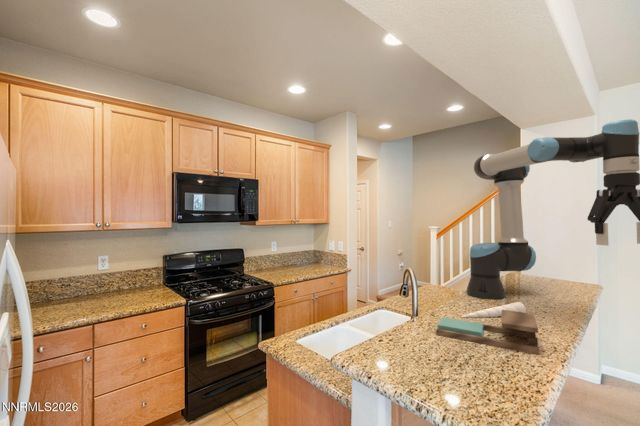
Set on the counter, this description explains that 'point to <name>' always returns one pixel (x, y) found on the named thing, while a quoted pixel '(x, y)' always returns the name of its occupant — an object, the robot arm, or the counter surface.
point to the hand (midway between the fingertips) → (623, 244)
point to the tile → (461, 326)
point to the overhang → (505, 332)
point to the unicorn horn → (497, 310)
